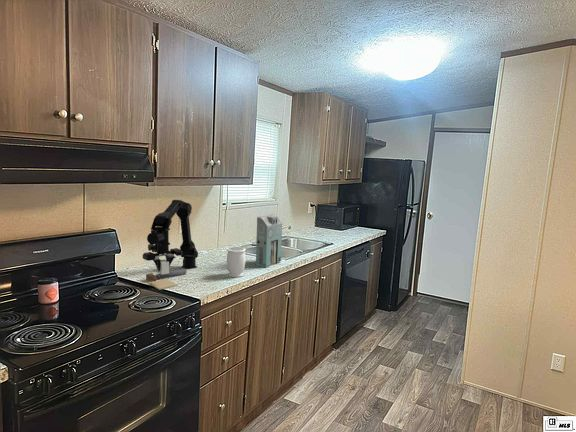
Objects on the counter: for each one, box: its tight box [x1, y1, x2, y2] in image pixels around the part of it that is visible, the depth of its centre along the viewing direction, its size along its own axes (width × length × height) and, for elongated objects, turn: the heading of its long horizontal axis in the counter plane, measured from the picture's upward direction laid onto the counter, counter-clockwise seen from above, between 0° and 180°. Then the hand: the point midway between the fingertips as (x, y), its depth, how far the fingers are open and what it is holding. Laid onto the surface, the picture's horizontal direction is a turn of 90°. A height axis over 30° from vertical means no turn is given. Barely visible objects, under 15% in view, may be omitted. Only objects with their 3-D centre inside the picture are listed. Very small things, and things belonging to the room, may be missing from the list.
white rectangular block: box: [156, 259, 170, 275], centre depth 201 cm, size 4×5×6 cm
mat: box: [147, 278, 179, 291], centre depth 202 cm, size 10×12×1 cm
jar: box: [226, 246, 247, 278], centre depth 222 cm, size 11×10×15 cm
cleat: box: [145, 272, 157, 282], centre depth 208 cm, size 3×5×3 cm, turn 44°
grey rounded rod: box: [155, 268, 187, 280], centre depth 216 cm, size 18×3×3 cm, turn 135°
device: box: [255, 213, 283, 269], centre depth 246 cm, size 16×8×30 cm, turn 148°
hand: (163, 270), depth 201 cm, fingers closed on white rectangular block, 4 cm apart
